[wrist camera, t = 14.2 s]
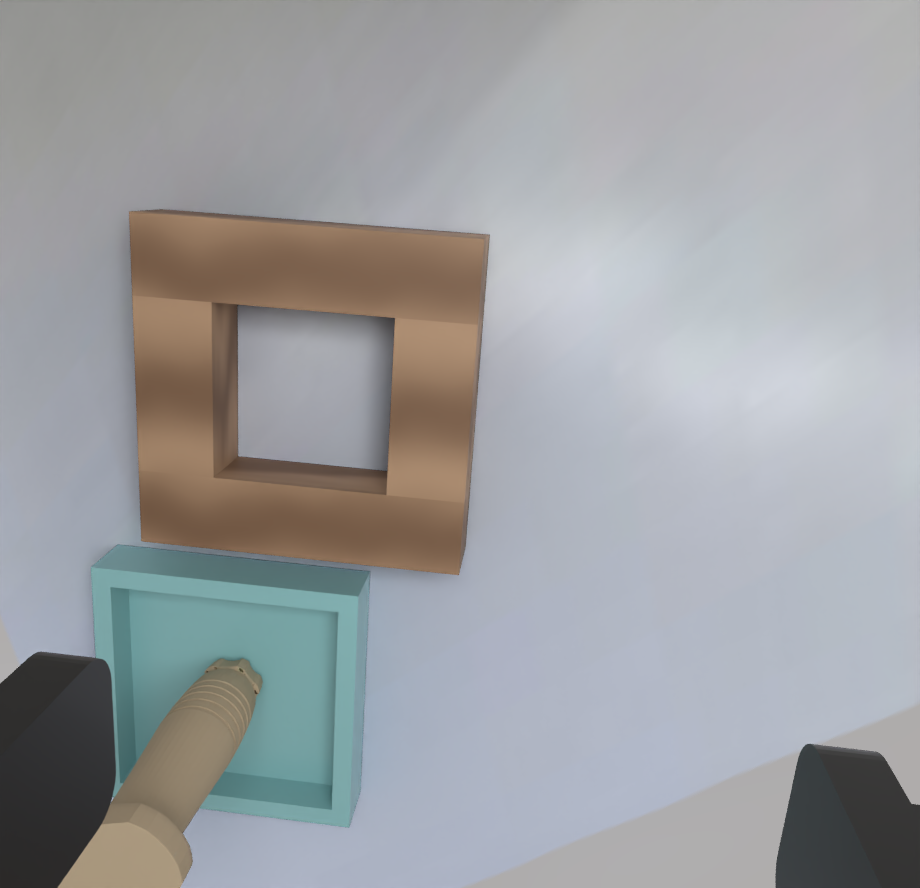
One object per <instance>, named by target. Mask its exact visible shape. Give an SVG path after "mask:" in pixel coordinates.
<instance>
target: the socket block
mask: <svg viewBox="0 0 920 888" xmlns="http://www.w3.org/2000/svg"><path fill="white" fill-rule="evenodd" d="M129 220H130V247H131V274H132V301H133V328H134V354H135V381H136V408H137V435H138V462H139V489H140V516H141V541H144V542H154V543H163V544H172V545H182V546H191V547H200V548H210V549H219V550H229V551H238V552H247V553H257V554H266V555H276V556H285V557H294V558H304V559H313V560H323V561H332V562H341V563H351V564H360V565H369V566H379V567H388V568H398V569H407V570H416V571H426V572H435V573H445V574H454V575H459V572H460V568H461V564H462V560H463V555H464V551H465V547H466V534H467V521H468V508H469V495H470V483H471V470H472V457H473V444H474V431H475V418H476V405H477V392H478V379H479V366H480V353H481V341H482V328H483V315H484V302H485V289H486V276H487V263H488V250H489V237H490V235H486V234H473V233H460V232H447V231H434V230H421V229H408V228H395V227H383V226H370V225H357V224H344V223H331V222H318V221H305V220H292V219H279V218H267V217H254V216H241V215H228V214H215V213H202V212H189V211H176V210H163V209H160V210H145V211H130V212H129ZM237 304H238V305H249V306H261V307H273V308H285V309H296V310H308V311H320V312H332V313H343V314H355V315H367V316H379V317H390V318H395V329H394V349H393V370H392V390H391V411H390V432H389V452H388V471H380V470H370V469H360V468H350V467H339V466H329V465H319V464H309V463H299V462H289V461H278V460H268V459H258V458H248V457H238V326H237Z"/></svg>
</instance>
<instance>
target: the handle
mask: <svg viewBox="0 0 920 888" xmlns="http://www.w3.org/2000/svg"><path fill="white" fill-rule="evenodd" d="M204 673H205V674H204V675H203V676H201V677H200V678H199V679H198V680H197V681H195V682H194V683H193V685H192V686H191V687H190V688H189V689H188V690H187V691H186V692H185V693H184V694H183V695H182V697H181V698H180V699H179V700H178V701H177V702H176V703H175V705H174V706H173V707H172V708H171V710H170V711H169V713H168V714H167V715H166V716H165V718H164V719H163V721H162V722H161V723H160V725H159V727H158V728H157V730H156V731H155V733H154V735H153V736H152V738H151V740H150V741H149V743H148V745H147V746H146V748H145V749H144V751H143V753H142V754H141V756H140V758H139V759H138V761H137V762H136V764H135V766H134V767H133V769H132V771H131V772H130V774H129V775H128V777H127V778H126V780H125V782H124V783H123V785H122V786H121V788H120V790H119V791H118V793H117V794H116V796H115V797H114V799H113V801H112V802H111V804H110V806H109V809H108V812H107V814H106V816H105V818H104V820H103V822H102V824H101V826H100V828H99V829H98V831H97V832H96V834H95V835H94V836H93V838H92V839H91V841H90V842H89V844H88V845H87V846H86V848H85V849H84V851H83V852H82V854H81V855H80V856H79V858H78V859H77V861H76V862H75V864H74V865H73V866H72V868H71V869H70V871H69V872H68V874H67V875H66V876H65V878H64V879H63V881H62V882H61V884H60V885H59V886H58V888H180V887H181V885H182V883H183V881H184V879H185V878H186V876H187V874H188V872H189V870H190V868H191V865H192V862H193V860H192V853H191V850H190V846H189V844H188V842H187V840H186V838H185V836H184V835H183V832H184V831H185V829H186V828H187V826H188V825H189V823H190V822H191V820H192V818H193V817H194V815H195V814H196V812H197V811H198V809H199V808H200V806H201V805H202V803H203V802H204V800H205V799H206V798H207V796H208V795H209V793H210V792H211V790H212V789H213V787H214V786H215V784H216V783H217V781H218V780H219V778H220V777H221V775H222V774H223V772H224V771H225V769H226V768H227V766H228V765H229V763H230V762H231V760H232V758H233V757H234V755H235V753H236V751H237V749H238V747H239V746H240V743H241V742H242V739H243V737H244V735H245V733H246V731H247V728H248V726H249V724H250V721H251V718H252V716H253V712H254V708H255V702H256V696H257V694H259V692H260V690H261V688H262V684H263V681H262V677H261V676H260V675H259V674H257V673H256V672H255V671H254V670H253V669H252V667H251V666H250V662H249V661H247V660H245V659H243V658H242V659H240V660H236V661H229V660H225V659H222V658H221V659H218V660H216V661H215V662H214V663H212V664H211V665H210V666H209V667H208V668H207V669H206V670H205V672H204Z"/></svg>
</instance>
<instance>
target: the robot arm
mask: <svg viewBox="0 0 920 888" xmlns="http://www.w3.org/2000/svg"><path fill="white" fill-rule="evenodd" d="M115 779H116V760H115V739H114V719H113V699H112V680H111V672H110V668H109V666H108V664H107V663H106V661H105V660H103V659H99V658H91V657H82V656H74V655H65V654H57V653H48V652H37V653H35V654H33V655H32V656H31V657H29V658H28V659H27V660H26V661H25V662H24V663H23V664H21V665H20V666H19V667H18V668H17V669H16V670H15V671H14V672H13V673H12V674H11V675H9V676H8V678H6V679H5V680H4V681H3V682H2V683H1V684H0V888H58V886H59V885H60V884H61V882H62V881H63V879H64V878H65V876H66V875H67V874H68V872H69V871H70V869H71V868H72V866H73V865H74V864H75V862H76V861H77V859H78V858H79V856H80V855H81V854H82V852H83V851H84V849H85V848H86V846H87V845H88V844H89V842H90V841H91V839H92V838H93V836H94V835H95V834H96V832H97V831H98V829H99V828H100V826H101V824H102V822H103V820H104V818H105V816H106V814H107V812H108V809H109V806H110V803H111V799H112V796H113V791H114V786H115ZM776 888H920V805H915V804H911V803H910V801H909V799H908V798H907V796H906V794H905V793H904V791H903V789H902V787H901V786H900V784H899V782H898V780H897V779H896V777H895V775H894V773H893V772H892V770H891V768H890V766H889V765H888V763H887V761H886V760H885V758H884V757H883V756H882V755H881V754H880V753H878V752H873V751H865V750H857V749H847V748H840V747H831V746H823V745H814V744H807V745H805V746H804V747H803V749H802V751H801V752H800V755H799V758H798V762H797V766H796V771H795V776H794V780H793V785H792V790H791V795H790V800H789V804H788V809H787V813H786V818H785V823H784V828H783V832H782V837H781V842H780V846H779V851H778V857H777V863H776Z"/></svg>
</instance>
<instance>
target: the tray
mask: <svg viewBox="0 0 920 888" xmlns="http://www.w3.org/2000/svg"><path fill="white" fill-rule="evenodd" d="M91 580H92V598H93V616H94V634H95V652H96V658H99V659H103V660H105V661H106V663H107V664H108V666H109V668H110V672H111V680H112V699H113V719H114V739H115V760H116V779H115V786H114V791H113V796H112V797H115V796H116V794H117V793H118V791H119V790H120V788H121V786H122V785H123V783H124V782H125V780H126V778H127V777H128V775H129V774H130V772H131V771H132V769H133V767H134V766H135V764H136V762H137V761H138V759H139V758H140V756H141V754H142V753H143V751H144V749H145V748H146V746H147V745H148V743H149V741H150V740H151V738H152V736H153V735H154V733H155V731H156V730H157V728H158V727H159V725H160V723H161V722H162V721H163V719H164V718H165V716H166V715H167V714H168V713H169V711H170V710H171V708H172V707H173V706H174V705H175V703H176V702H177V701H178V700H179V699H180V698H181V697H182V695H183V694H184V693H185V692H186V691H187V690H188V689H189V688H190V687H191V686H192V685H193V683H194V682H195V681H197V680H198V679H199V678H200V677H201V676H203V675H204V674H205V673H204V672H205V670H206V669H207V668H208V667H209V666H210V665H211V664H212V663H214V662H215V661H216V660H218V659H221V658H222V659H225V660H229V661H236V660H240V659H242V658H243V659H245V660H247V661H249V662H250V666H251V667H252V669H253V670H254V671H255V672H256V673H257V674H259V675H260V676H261V677H262V681H263V684H262V688H261V690H260V692H259V694H257V696H256V702H255V708H254V712H253V716H252V718H251V721H250V724H249V726H248V728H247V731H246V733H245V735H244V737H243V739H242V742H241V743H240V746H239V747H238V749H237V751H236V753H235V755H234V757H233V758H232V760H231V762H230V763H229V765H228V766H227V768H226V769H225V771H224V772H223V774H222V775H221V777H220V778H219V780H218V781H217V783H216V784H215V786H214V787H213V789H212V790H211V792H210V793H209V795H208V796H207V798H206V799H205V800H204V802H203V803H202V805H201V806H200V808H201V809H209V810H217V811H224V812H232V813H240V814H248V815H255V816H263V817H271V818H279V819H286V820H294V821H302V822H310V823H317V824H325V825H333V826H341V827H348V828H349V826H350V823H351V820H352V817H353V814H354V811H355V807H356V804H357V801H358V798H359V795H360V789H361V767H362V744H363V721H364V699H365V676H366V653H367V631H368V608H369V585H370V572H369V571H360V570H350V569H341V568H332V567H322V566H313V565H304V564H294V563H285V562H276V561H266V560H257V559H248V558H238V557H229V556H220V555H210V554H201V553H192V552H182V551H173V550H163V549H154V548H145V547H135V546H126V545H117V546H116V547H115V548H113V549H112V550H111V551H110V552H109V553H107V554H106V555H105V556H104V557H103V558H101V559H100V560H99V561H98V562H97V563H95V564H94V565H93V566H92V567H91Z"/></svg>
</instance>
